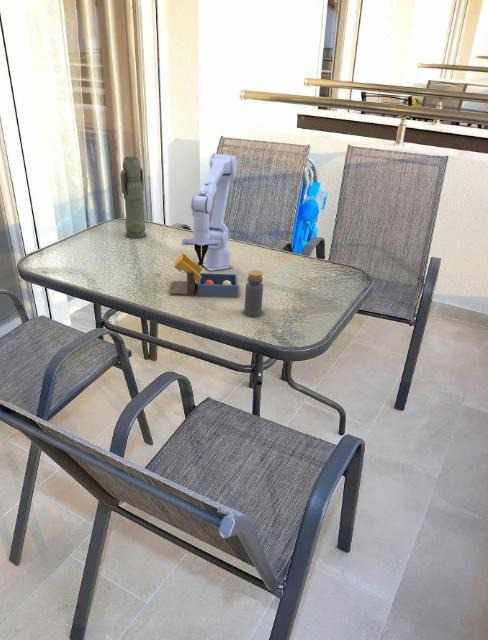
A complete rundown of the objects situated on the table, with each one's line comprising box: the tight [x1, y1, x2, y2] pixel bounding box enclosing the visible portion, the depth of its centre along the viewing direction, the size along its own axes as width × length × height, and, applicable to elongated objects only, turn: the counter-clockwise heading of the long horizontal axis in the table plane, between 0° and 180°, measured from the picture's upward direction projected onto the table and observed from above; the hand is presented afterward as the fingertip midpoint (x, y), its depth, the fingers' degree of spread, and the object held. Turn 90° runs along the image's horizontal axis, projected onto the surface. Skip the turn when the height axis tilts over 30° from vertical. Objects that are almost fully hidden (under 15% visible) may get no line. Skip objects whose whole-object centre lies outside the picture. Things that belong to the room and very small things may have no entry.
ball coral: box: [205, 280, 214, 285], centre depth 190 cm, size 4×4×4 cm
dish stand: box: [170, 261, 196, 297], centre depth 188 cm, size 8×11×9 cm
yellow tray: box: [173, 251, 204, 283], centre depth 189 cm, size 10×15×4 cm
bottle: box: [244, 269, 264, 317], centre depth 172 cm, size 6×6×15 cm
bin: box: [197, 272, 239, 298], centre depth 190 cm, size 14×11×4 cm
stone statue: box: [119, 156, 146, 239], centre depth 232 cm, size 9×12×35 cm
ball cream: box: [222, 280, 232, 285], centre depth 190 cm, size 4×4×4 cm
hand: (201, 263), depth 195 cm, fingers closed
